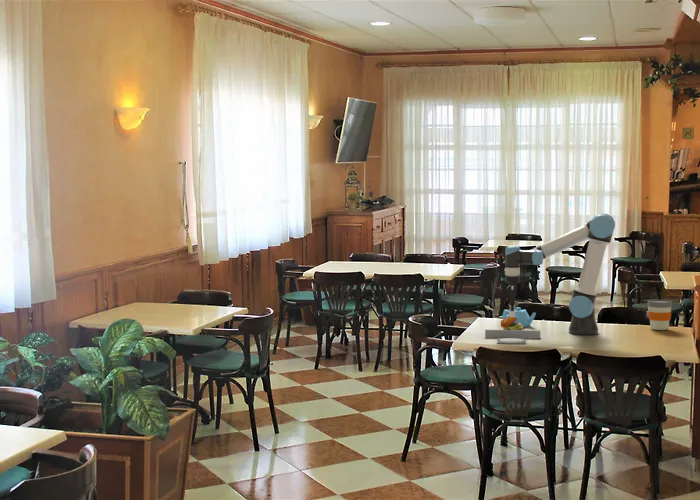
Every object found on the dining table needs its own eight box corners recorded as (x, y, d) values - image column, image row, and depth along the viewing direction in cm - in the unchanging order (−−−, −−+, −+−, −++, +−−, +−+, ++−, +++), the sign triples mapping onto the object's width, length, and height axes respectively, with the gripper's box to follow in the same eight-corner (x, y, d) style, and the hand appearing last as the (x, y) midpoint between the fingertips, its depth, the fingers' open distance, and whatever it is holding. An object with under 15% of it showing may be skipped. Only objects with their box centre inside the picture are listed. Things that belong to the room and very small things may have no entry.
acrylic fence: (540, 338, 427) (540, 330, 427) (540, 338, 426) (540, 330, 425) (485, 337, 432) (485, 329, 432) (485, 337, 431) (485, 329, 431)
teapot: (526, 323, 472) (526, 305, 472) (536, 328, 458) (536, 308, 457) (500, 325, 470) (500, 306, 469) (510, 329, 455) (510, 309, 454)
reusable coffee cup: (646, 329, 446) (646, 302, 444) (647, 326, 457) (647, 299, 456) (671, 330, 441) (671, 302, 440) (672, 327, 452) (672, 299, 451)
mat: (525, 339, 424) (525, 338, 424) (525, 344, 410) (525, 343, 410) (497, 338, 427) (497, 337, 427) (497, 343, 413) (497, 342, 413)
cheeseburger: (524, 333, 434) (517, 315, 434) (505, 339, 437) (498, 322, 436) (524, 328, 444) (517, 311, 443) (505, 334, 447) (498, 317, 446)
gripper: (505, 272, 451) (505, 311, 453) (504, 277, 427) (504, 318, 429) (519, 273, 450) (519, 311, 452) (519, 277, 426) (519, 318, 427)
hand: (512, 315), depth 440 cm, fingers open, 13 cm apart
